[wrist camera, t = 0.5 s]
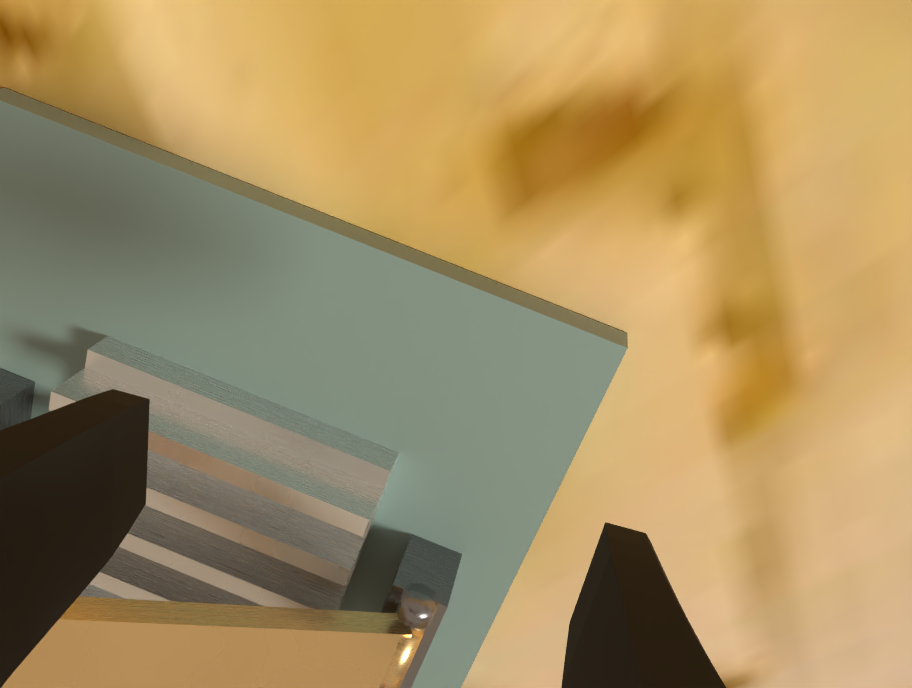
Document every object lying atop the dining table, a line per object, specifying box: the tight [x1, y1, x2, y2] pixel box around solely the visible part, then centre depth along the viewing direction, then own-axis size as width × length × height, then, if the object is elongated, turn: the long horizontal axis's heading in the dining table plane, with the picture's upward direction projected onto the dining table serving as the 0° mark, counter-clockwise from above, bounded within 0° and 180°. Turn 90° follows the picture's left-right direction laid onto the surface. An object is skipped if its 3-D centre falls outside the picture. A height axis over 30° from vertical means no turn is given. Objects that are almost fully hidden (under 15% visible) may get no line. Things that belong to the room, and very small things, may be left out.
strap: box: [1, 596, 424, 688], centre depth 20 cm, size 3×13×1 cm, turn 71°
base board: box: [0, 88, 628, 688], centre depth 26 cm, size 20×18×1 cm
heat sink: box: [0, 336, 462, 688], centre depth 24 cm, size 9×15×3 cm, turn 71°
